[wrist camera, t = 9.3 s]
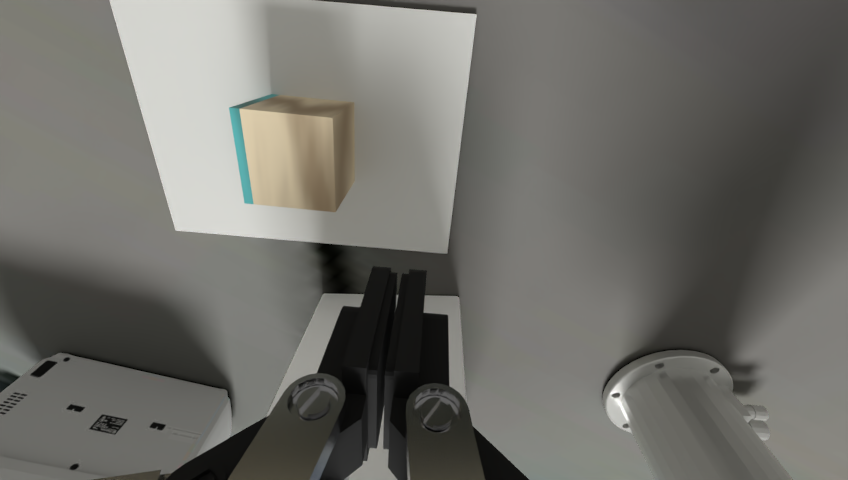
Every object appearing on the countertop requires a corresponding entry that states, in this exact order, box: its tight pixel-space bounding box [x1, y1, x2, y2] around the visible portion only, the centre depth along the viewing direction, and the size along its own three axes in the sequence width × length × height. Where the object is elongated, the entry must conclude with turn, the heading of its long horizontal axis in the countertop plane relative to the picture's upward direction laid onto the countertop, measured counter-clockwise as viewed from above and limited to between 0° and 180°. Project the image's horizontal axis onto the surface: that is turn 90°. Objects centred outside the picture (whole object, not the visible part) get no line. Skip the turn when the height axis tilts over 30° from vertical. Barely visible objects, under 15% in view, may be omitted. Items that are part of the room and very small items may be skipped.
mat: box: [110, 0, 477, 254], centre depth 28 cm, size 24×18×1 cm
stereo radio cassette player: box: [0, 353, 232, 480], centre depth 34 cm, size 21×8×20 cm, turn 73°
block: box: [229, 94, 355, 212], centre depth 25 cm, size 6×6×6 cm
